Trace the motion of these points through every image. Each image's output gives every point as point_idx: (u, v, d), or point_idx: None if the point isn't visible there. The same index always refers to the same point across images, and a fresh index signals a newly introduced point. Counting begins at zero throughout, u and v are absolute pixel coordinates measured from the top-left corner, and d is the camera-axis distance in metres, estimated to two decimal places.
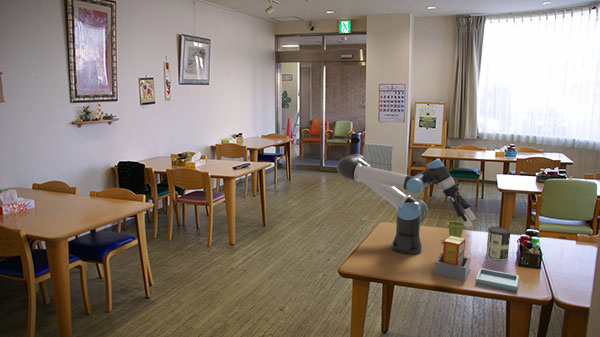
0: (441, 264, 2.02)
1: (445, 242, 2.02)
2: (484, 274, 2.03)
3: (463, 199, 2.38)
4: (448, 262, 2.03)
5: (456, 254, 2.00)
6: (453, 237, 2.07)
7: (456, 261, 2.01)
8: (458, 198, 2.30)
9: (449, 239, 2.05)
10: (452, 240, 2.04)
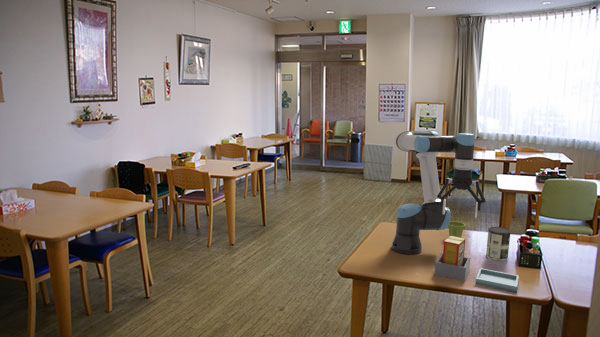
0: (441, 264, 2.02)
1: (445, 242, 2.02)
2: (484, 274, 2.03)
3: (478, 192, 1.98)
4: (448, 262, 2.03)
5: (456, 254, 2.00)
6: (453, 237, 2.07)
7: (456, 261, 2.01)
8: (455, 184, 2.01)
9: (449, 239, 2.05)
10: (452, 240, 2.04)
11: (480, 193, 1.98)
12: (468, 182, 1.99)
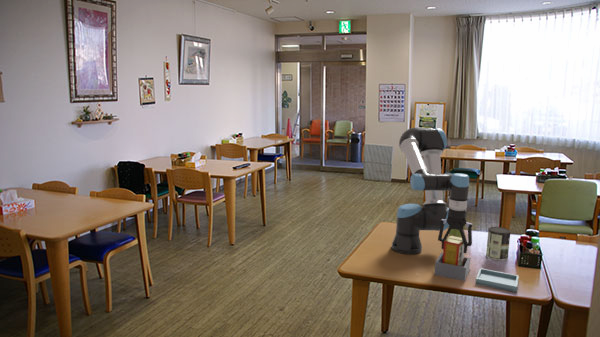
0: (441, 264, 2.02)
1: (445, 242, 2.02)
2: (484, 274, 2.03)
3: (468, 235, 2.00)
4: (448, 262, 2.03)
5: (456, 254, 2.00)
6: (453, 237, 2.07)
7: (456, 261, 2.01)
8: (450, 225, 2.03)
9: (449, 239, 2.05)
10: (452, 240, 2.04)
11: (469, 236, 2.00)
12: (462, 222, 2.01)
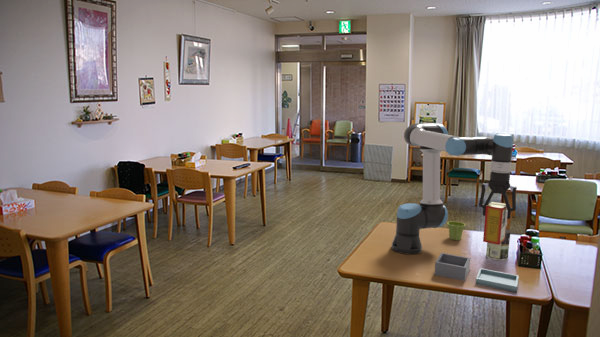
0: (441, 264, 2.02)
1: (487, 207, 1.91)
2: (484, 274, 2.03)
3: (512, 199, 1.89)
4: (490, 228, 1.91)
5: (499, 219, 1.88)
6: (495, 203, 1.96)
7: (499, 227, 1.89)
8: (492, 189, 1.91)
9: (491, 204, 1.93)
10: (494, 205, 1.92)
11: (513, 200, 1.88)
12: (506, 185, 1.89)
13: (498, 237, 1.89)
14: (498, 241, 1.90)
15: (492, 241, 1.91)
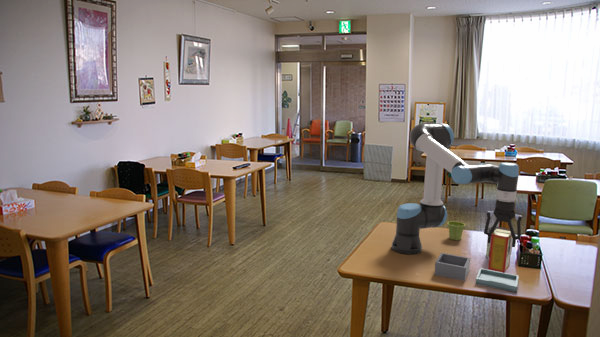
0: (441, 264, 2.02)
1: (493, 235, 1.91)
2: (484, 274, 2.03)
3: (517, 227, 1.90)
4: (496, 256, 1.92)
5: (505, 248, 1.89)
6: (500, 230, 1.96)
7: (505, 255, 1.90)
8: (497, 217, 1.92)
9: (496, 232, 1.94)
10: (499, 233, 1.93)
11: (518, 229, 1.89)
12: (511, 214, 1.90)
13: (503, 265, 1.90)
14: (503, 269, 1.91)
15: (497, 269, 1.92)
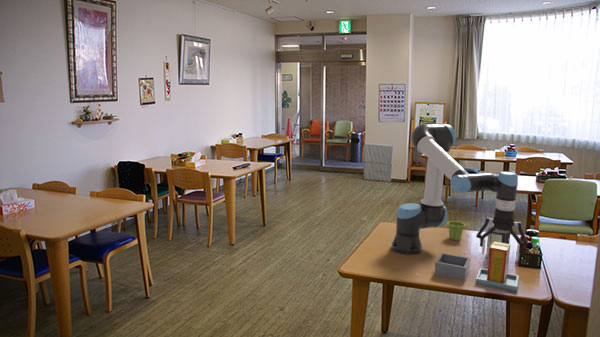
0: (441, 264, 2.02)
1: (491, 248, 1.92)
2: (484, 274, 2.03)
3: (520, 234, 1.89)
4: (494, 269, 1.93)
5: (503, 261, 1.90)
6: (497, 243, 1.98)
7: (503, 268, 1.91)
8: (495, 225, 1.93)
9: (494, 245, 1.95)
10: (498, 246, 1.94)
11: (522, 235, 1.89)
12: (510, 223, 1.91)
13: (502, 278, 1.92)
14: (502, 282, 1.92)
15: None
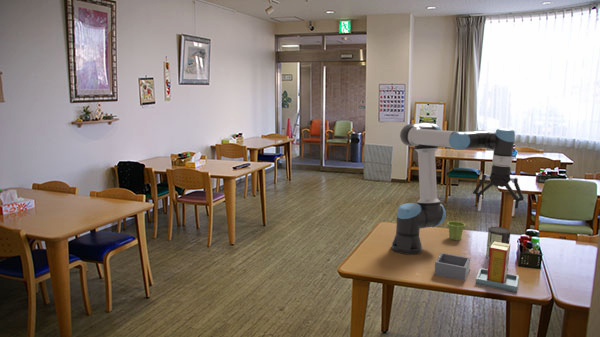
0: (441, 264, 2.02)
1: (491, 248, 1.92)
2: (484, 274, 2.03)
3: None
4: (494, 269, 1.93)
5: (503, 261, 1.90)
6: (497, 243, 1.98)
7: (503, 268, 1.91)
8: (492, 181, 1.97)
9: (494, 245, 1.95)
10: (498, 246, 1.94)
11: (518, 191, 1.93)
12: (506, 179, 1.95)
13: (502, 278, 1.92)
14: (502, 282, 1.92)
15: None
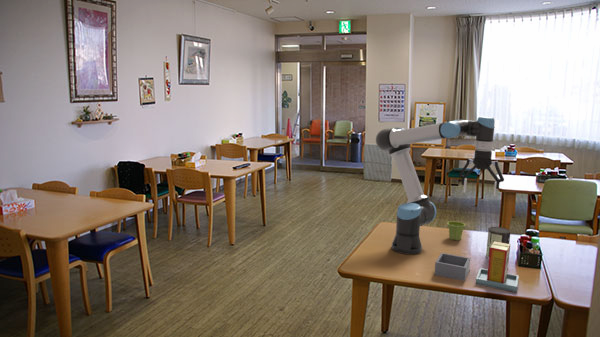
0: (441, 264, 2.02)
1: (491, 248, 1.92)
2: (484, 274, 2.03)
3: (497, 172, 2.13)
4: (494, 269, 1.93)
5: (503, 261, 1.90)
6: (497, 243, 1.98)
7: (503, 268, 1.91)
8: (475, 164, 2.17)
9: (494, 245, 1.95)
10: (498, 246, 1.94)
11: (499, 173, 2.13)
12: (488, 162, 2.15)
13: (502, 278, 1.92)
14: (502, 282, 1.92)
15: None
